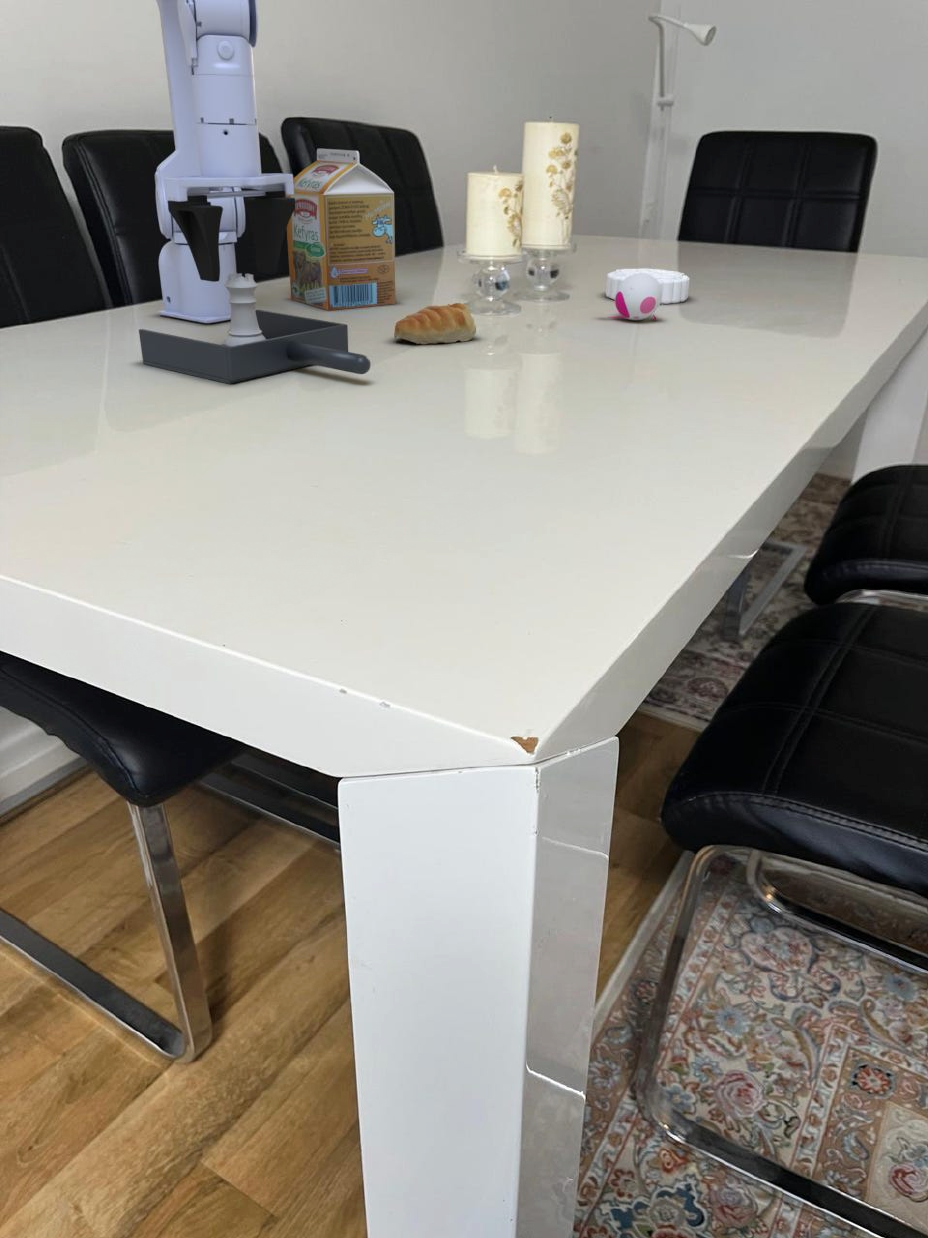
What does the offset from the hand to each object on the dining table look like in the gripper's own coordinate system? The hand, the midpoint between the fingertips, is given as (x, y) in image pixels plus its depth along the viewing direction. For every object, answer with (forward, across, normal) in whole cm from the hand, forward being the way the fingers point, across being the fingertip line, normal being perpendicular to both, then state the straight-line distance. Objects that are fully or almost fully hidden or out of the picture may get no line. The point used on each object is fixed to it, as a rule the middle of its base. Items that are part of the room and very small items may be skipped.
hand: (239, 276), depth 97 cm
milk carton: (+9, +34, +18) cm, 39 cm away
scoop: (+8, 0, -6) cm, 10 cm away
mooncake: (+9, +67, -12) cm, 68 cm away
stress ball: (+8, +49, -19) cm, 53 cm away
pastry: (+8, +22, -8) cm, 25 cm away
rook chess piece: (+8, 0, 0) cm, 8 cm away
